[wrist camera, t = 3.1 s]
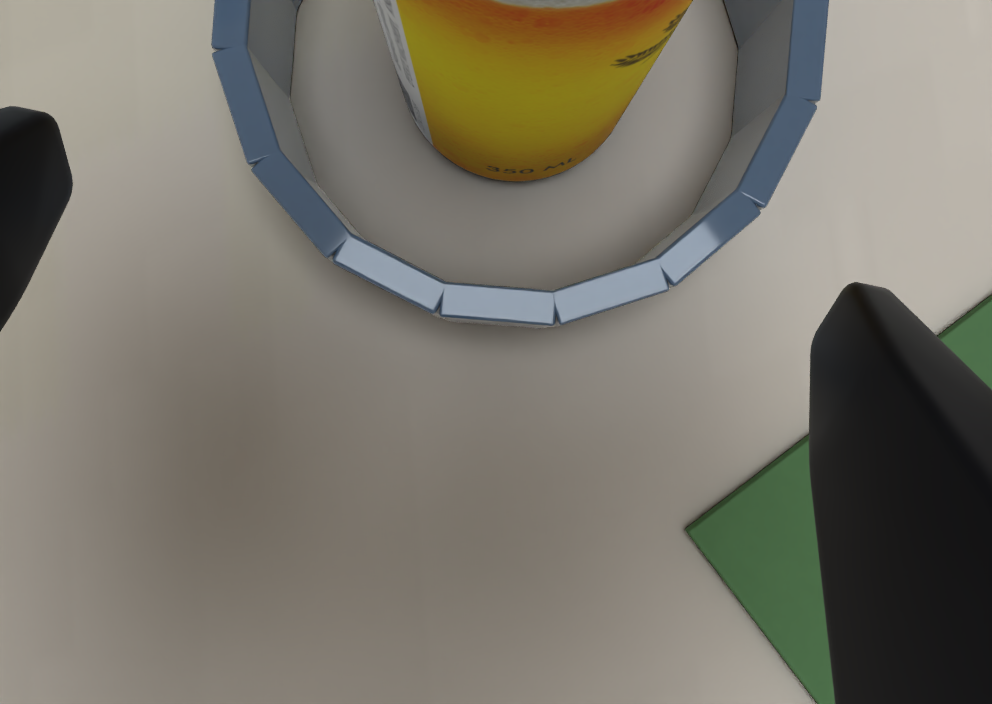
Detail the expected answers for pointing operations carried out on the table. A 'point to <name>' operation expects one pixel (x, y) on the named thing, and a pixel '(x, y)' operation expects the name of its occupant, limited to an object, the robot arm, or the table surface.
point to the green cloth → (799, 536)
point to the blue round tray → (715, 221)
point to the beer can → (523, 75)
